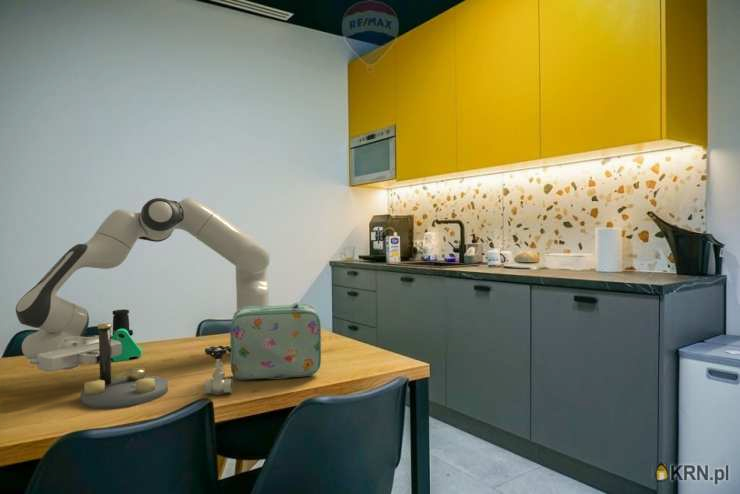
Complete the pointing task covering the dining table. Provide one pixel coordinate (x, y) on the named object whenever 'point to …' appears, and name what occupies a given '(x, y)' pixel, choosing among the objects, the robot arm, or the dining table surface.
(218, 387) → the valve
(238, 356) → the lunch box
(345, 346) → the dining table surface
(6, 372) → the dining table surface
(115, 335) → the camera mount
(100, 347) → the lever
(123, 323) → the scope
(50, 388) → the dining table surface
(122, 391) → the plate
